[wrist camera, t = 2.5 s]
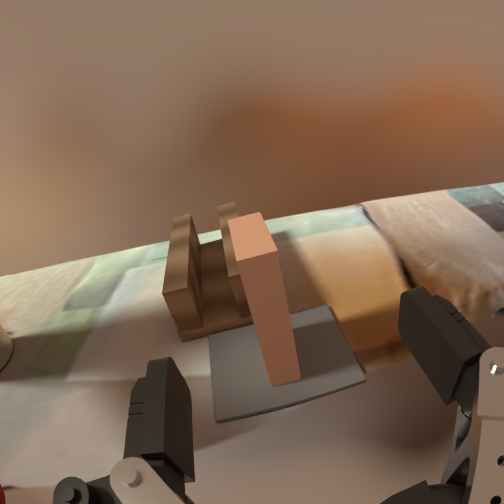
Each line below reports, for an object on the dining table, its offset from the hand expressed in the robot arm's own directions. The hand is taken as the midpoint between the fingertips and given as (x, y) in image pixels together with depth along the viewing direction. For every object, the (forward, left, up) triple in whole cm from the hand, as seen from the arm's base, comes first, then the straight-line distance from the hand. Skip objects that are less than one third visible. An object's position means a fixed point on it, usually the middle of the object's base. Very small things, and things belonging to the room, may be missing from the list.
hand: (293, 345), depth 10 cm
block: (-4, +11, -13) cm, 17 cm away
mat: (-4, +11, -14) cm, 18 cm away
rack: (-13, +23, -14) cm, 29 cm away
